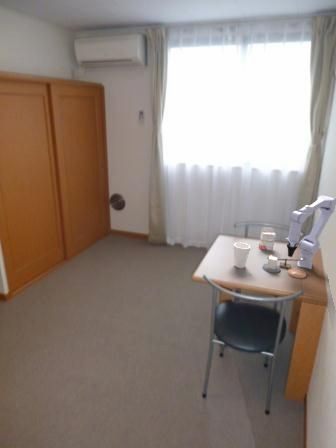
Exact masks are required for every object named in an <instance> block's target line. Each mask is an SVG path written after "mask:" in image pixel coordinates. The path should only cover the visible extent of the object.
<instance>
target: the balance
mask: <svg viewBox="0 0 336 448" xmlns="http://www.w3.org/2000/svg"><path fill="white" fill-rule="evenodd" d="M269 256H273V257H274V255H273V254H269ZM266 259H267V261H268V260H269V257H267V258H266ZM304 260H306V258H304V257H300V256H299V257H298V258H285V257H284V258H277V261H280V262H279V265H278V266H279V267H280V268H282V269H287V270H289V269H291V264H290V263H287V261H288V262H290V261H295V262H296V261H297V262H298V261H304ZM281 261H284V262H281Z"/></svg>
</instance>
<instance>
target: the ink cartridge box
mask: <svg viewBox="0 0 336 448" xmlns="http://www.w3.org/2000/svg"><path fill="white" fill-rule="evenodd" d="M274 229H275V228H274V227H268V226H267V227H265V226H264V227H262V228H261V231H260V238H259V244H258V248H259V249H260V250H261V251H274V245H275V240H276V236H277V235H276V233H275V232H274Z"/></svg>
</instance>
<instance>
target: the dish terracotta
mask: <svg viewBox="0 0 336 448" xmlns="http://www.w3.org/2000/svg"><path fill="white" fill-rule="evenodd" d="M286 273H287V275H288V276H290V277H292V278H294V277H295V279H304V278H306V276H307V273H306V272H305V271H303V270H301V269H300V268H299V269H298V268H290V269H287V272H286Z"/></svg>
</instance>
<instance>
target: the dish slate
mask: <svg viewBox="0 0 336 448" xmlns="http://www.w3.org/2000/svg"><path fill="white" fill-rule="evenodd" d="M267 266H268V263H264V264H263V265H262V269H263V270H264V271H265V272H268V273H272V274H273V273H274V274H277V273H278V274H279V273H280V272H281V267H279V266H280V265H278V264H276V269H275V270H274V269H269V268H267Z"/></svg>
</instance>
